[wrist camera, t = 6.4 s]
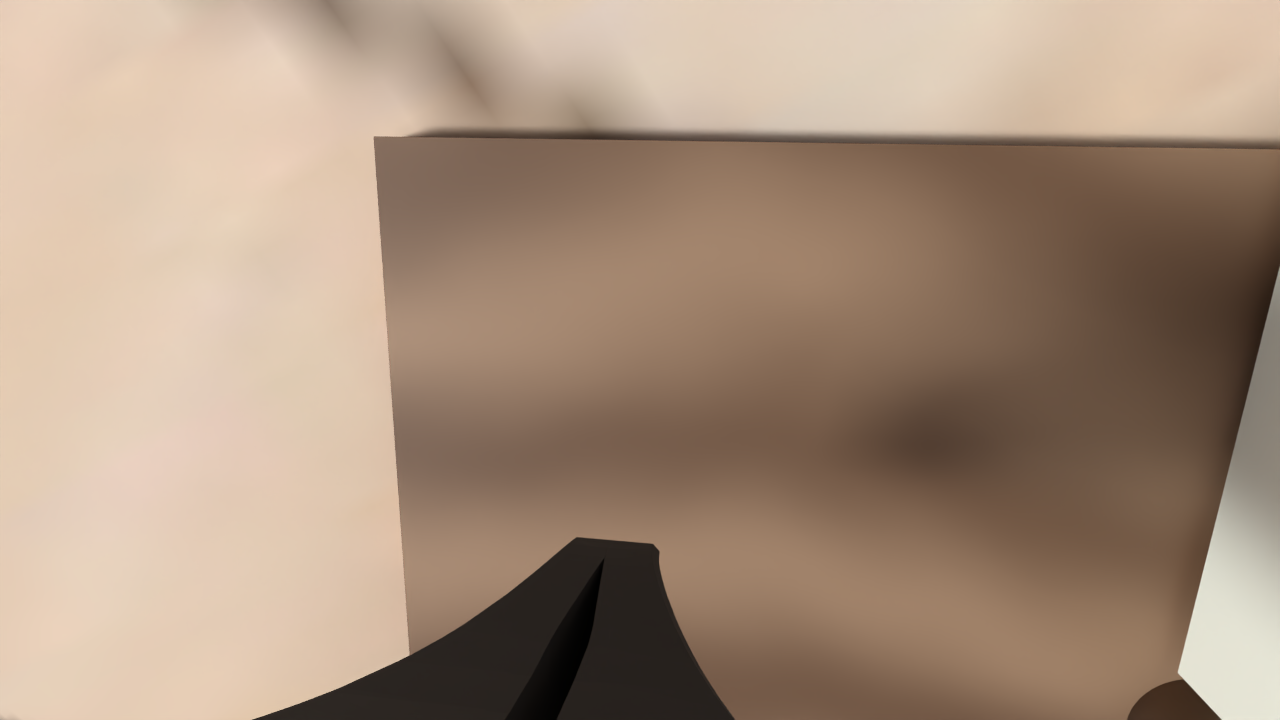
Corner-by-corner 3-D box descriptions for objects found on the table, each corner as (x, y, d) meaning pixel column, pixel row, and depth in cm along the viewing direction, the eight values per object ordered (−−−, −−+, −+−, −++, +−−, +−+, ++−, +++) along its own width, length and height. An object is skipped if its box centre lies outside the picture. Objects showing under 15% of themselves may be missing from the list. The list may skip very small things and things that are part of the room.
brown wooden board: (1271, 775, 18) (1663, 1196, 10) (429, 692, 20) (258, 988, 13) (1451, 155, 14) (2260, 121, 7) (394, 139, 16) (125, 101, 9)
